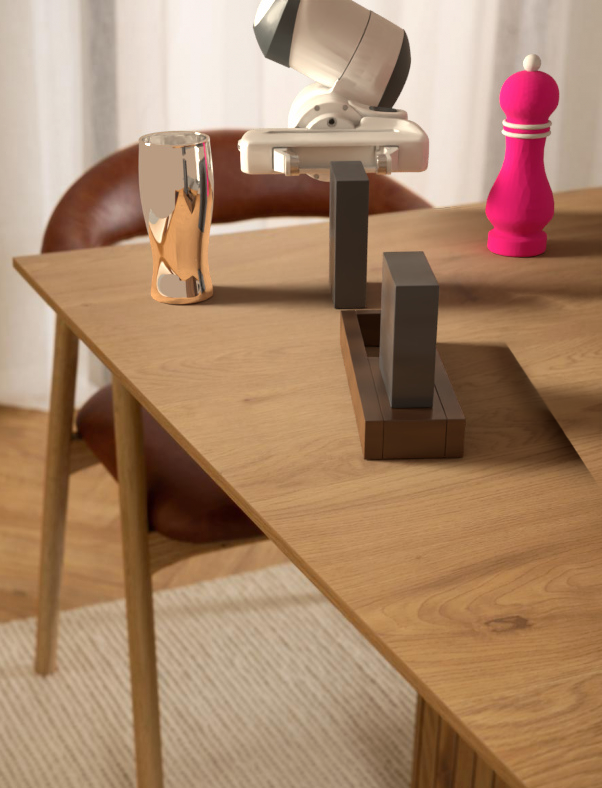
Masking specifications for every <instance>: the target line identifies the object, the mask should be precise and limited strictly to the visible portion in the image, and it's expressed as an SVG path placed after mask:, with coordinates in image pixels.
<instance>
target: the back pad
mask: <svg viewBox="0 0 602 788" xmlns="http://www.w3.org/2000/svg"><path fill="white" fill-rule="evenodd" d="M369 208H370V179H369V176H368V173H366V172H365V169H364V167H363V164H362V162H361V161H330V182H329V215H328V216H329V219H328V220H329V221H328V222H329V225H328V227H329V228H328V236H329V237H328V286H329V290H330V294H331V298H332V303H333V308H334V309H366V308H367V288H368V287H367V286H368V285H367V284H368V283H367V282H368V281H367V280H368V251H369V250H368V249H369V248H368V246H369V245H368V244H369V210H370V209H369Z"/></svg>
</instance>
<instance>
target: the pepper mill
mask: <svg viewBox="0 0 602 788" xmlns="http://www.w3.org/2000/svg"><path fill="white" fill-rule="evenodd" d="M522 65H523V68H524V69H523V70H520V71H516V72H515V73H512V74H511V75H510V76H508V77H507V78H506V79H505V81H504V82H503V84H502V86H501V87H500V92H499V96H498V98H499V107H500V109H501V110H502V112H503V113H504V114H505V117H506V118H504V119H503V120H502V130H501V134H502V135H503V136H505V151H504V159H503V161H502V165H501V168H500V170H499V172H498V174H497V176H496V178H495V180H494V182H493V184H492V186H491V188H490V190H489V193H488V195H487V198H486V202H485V209H484V210H485V216H486V218H487V219H488V221H489V222H490V224H491V226H492V227H493V228H491V229H490V230H489V231H488V232H487V245H486V246H487V249H488V250H489V252H491V253H493V254H496V255H498V256H499V255H500V256H504V257H512V258H528V257H529V258H530V257H535V256H539V255H542V254H544V253H545V252H546V250H547V242H548V234H547V232H546V231H545V230H544V228H545V227H546V226H548V224H549V223H550V222H551V221H552V220H553V217H554V216H555V198H554V193H553V189H552V187H551V184H550V182H549V178H548V176H547V171H546V168H545V167H546V166H545V148H546V142H547V138H548V137H549V136H551V134H552V131H551V126H552V125H553V122H552V120H550V117H551V116H552V114H553V113H554V112H555V111H556V110H557V109H558V106H559V104H560V88H559V84H558V83H557V81H556V79H554V77H553V76H552V75H551V74H549V73H547V72H545V71H541V70H540V68H541V65H542V60H541V58H540V56H539V55H538V54H535V53H531V54H528V55H526V56H525V58H524V59H523V63H522Z"/></svg>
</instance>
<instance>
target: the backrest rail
mask: <svg viewBox="0 0 602 788" xmlns="http://www.w3.org/2000/svg"><path fill="white" fill-rule="evenodd" d="M381 264H382V265H381V266H382V270H381V293H380V294H381V297H380V298H381V300H380V309H345V310H344V309H341V310H340V311H339V312H340V313H339V314H340V315H339V317H340V318H339V344H340V350H341V354H342V359H343V365H344V369H345V374H346V379H347V384H348V387H349V388H348V389H349V394H350V398H351V402H352V408H353V413H354V418H355V422H356V427H357V431H358V437H359V441H360V446H361V450H362V456H363V459H364V460H402V459H403V460H405V459H406V460H407V459H444V458H445V459H448V458H451V459H452V458H455V459H456V458H463V457H464V451H465V449H464V448H465V435H466V417H465V414H464V412H463V409H462V407H461V405H460V402H459V399H458V397H457V395H456V392H455V389H454V386H453V385H452V382H451V379H450V378H449V375H448V372H447V370H446V367H445V365H444V363H443V360H442V357H441V355H440V353H439V350H438V347H437V341H438V339H437V338H438V325H439V324H438V322H439V304H440V290H441V289H440V288H441V287H440V284H439V282H438V280H437V277H436V275H435V273H434V271H433V269H432V267H431V265H430V263H429V260H428V258H427V256H426V254H425V252H424V251H423V250H418V251H417V250H415V251H410V250H409V251H383V252H382V263H381ZM366 347H379V355H378V356H368V353H367V351H366V350H367V349H366Z"/></svg>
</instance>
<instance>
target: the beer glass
mask: <svg viewBox="0 0 602 788" xmlns="http://www.w3.org/2000/svg"><path fill="white" fill-rule="evenodd" d="M138 186H139V187H138V188H139V197H140V203H141V204H140V205H141V209H142V214H143V218H144V222H145V227H146V232H147V235H148V240H149V244H150V249H151V255H152V256H151V257H152V277H151V286H150V296H151V298H152V299H153V300H155V301H156V302H159V303H162V304H168V305H190V304H197V303H201V302H204V301H206V300H208V299H210V298H211V297H212V296H213V294H214V285H213V281H212V278H211V274H210V266H209V243H210V242H209V241H210V235H211V228H212V227H211V226H212V220H213V213H214V212H213V211H214V199H215V178H214V166H213V156H212V149H211V137H210V136H209V134H206V133H204V132H200V131H193V130H192V131H191V130H166V131H157V132H150V133H148V134H143V135H142V136H139V138H138Z"/></svg>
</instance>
